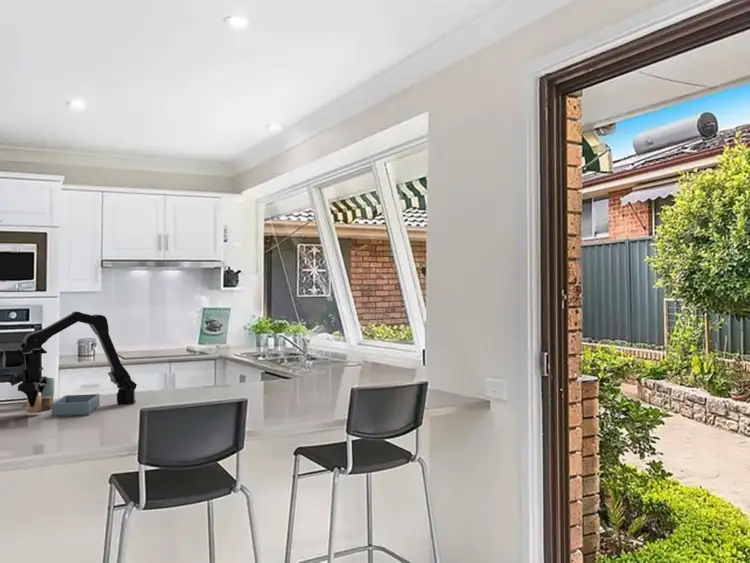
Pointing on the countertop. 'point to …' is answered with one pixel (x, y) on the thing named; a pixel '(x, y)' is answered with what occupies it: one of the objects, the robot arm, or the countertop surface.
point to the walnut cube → (46, 402)
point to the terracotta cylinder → (37, 404)
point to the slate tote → (75, 405)
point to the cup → (49, 388)
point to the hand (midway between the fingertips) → (34, 405)
